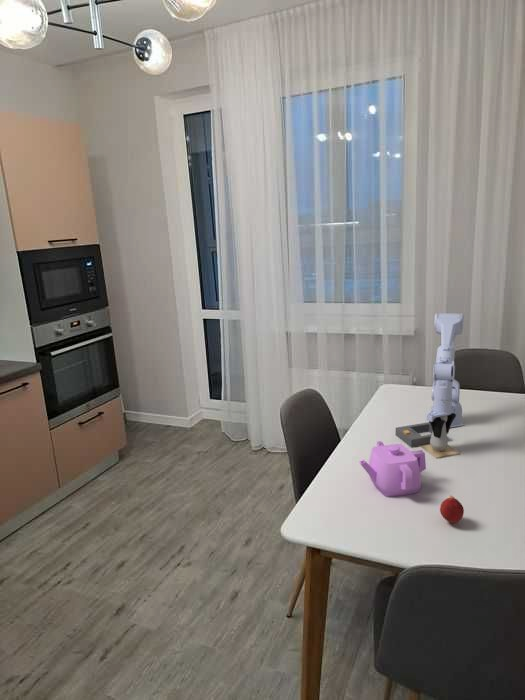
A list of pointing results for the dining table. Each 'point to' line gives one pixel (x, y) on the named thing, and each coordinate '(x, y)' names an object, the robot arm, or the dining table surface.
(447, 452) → the oak pad
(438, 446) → the salt shaker
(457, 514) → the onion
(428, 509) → the dining table surface
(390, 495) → the teakettle
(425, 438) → the grey flat block
